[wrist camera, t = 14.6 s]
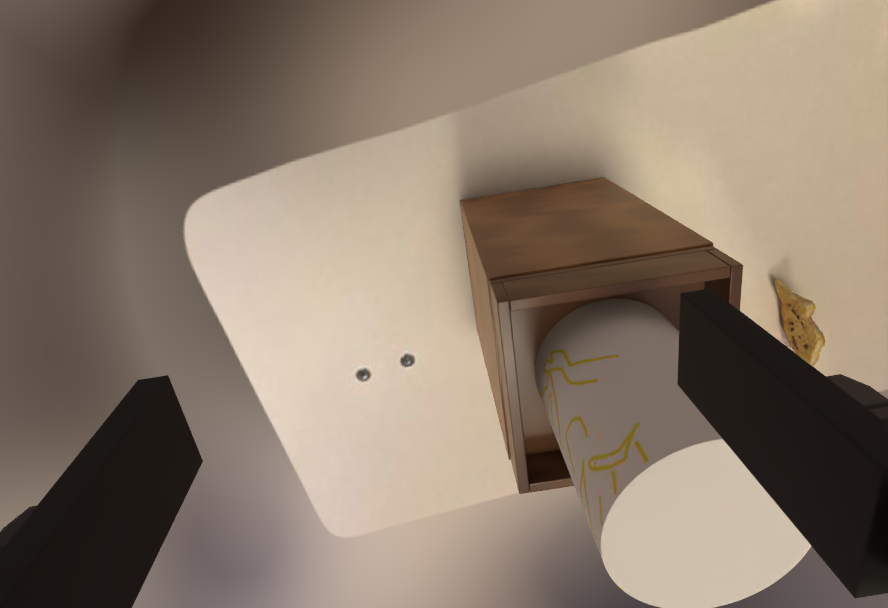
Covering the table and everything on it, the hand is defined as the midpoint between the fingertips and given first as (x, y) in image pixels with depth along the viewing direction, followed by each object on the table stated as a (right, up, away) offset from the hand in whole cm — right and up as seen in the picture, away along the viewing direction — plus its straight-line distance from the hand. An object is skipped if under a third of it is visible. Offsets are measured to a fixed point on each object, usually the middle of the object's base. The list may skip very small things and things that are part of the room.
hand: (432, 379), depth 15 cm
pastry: (+31, +1, +37) cm, 49 cm away
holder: (+9, -1, +17) cm, 20 cm away
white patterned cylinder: (+9, -1, +17) cm, 19 cm away
